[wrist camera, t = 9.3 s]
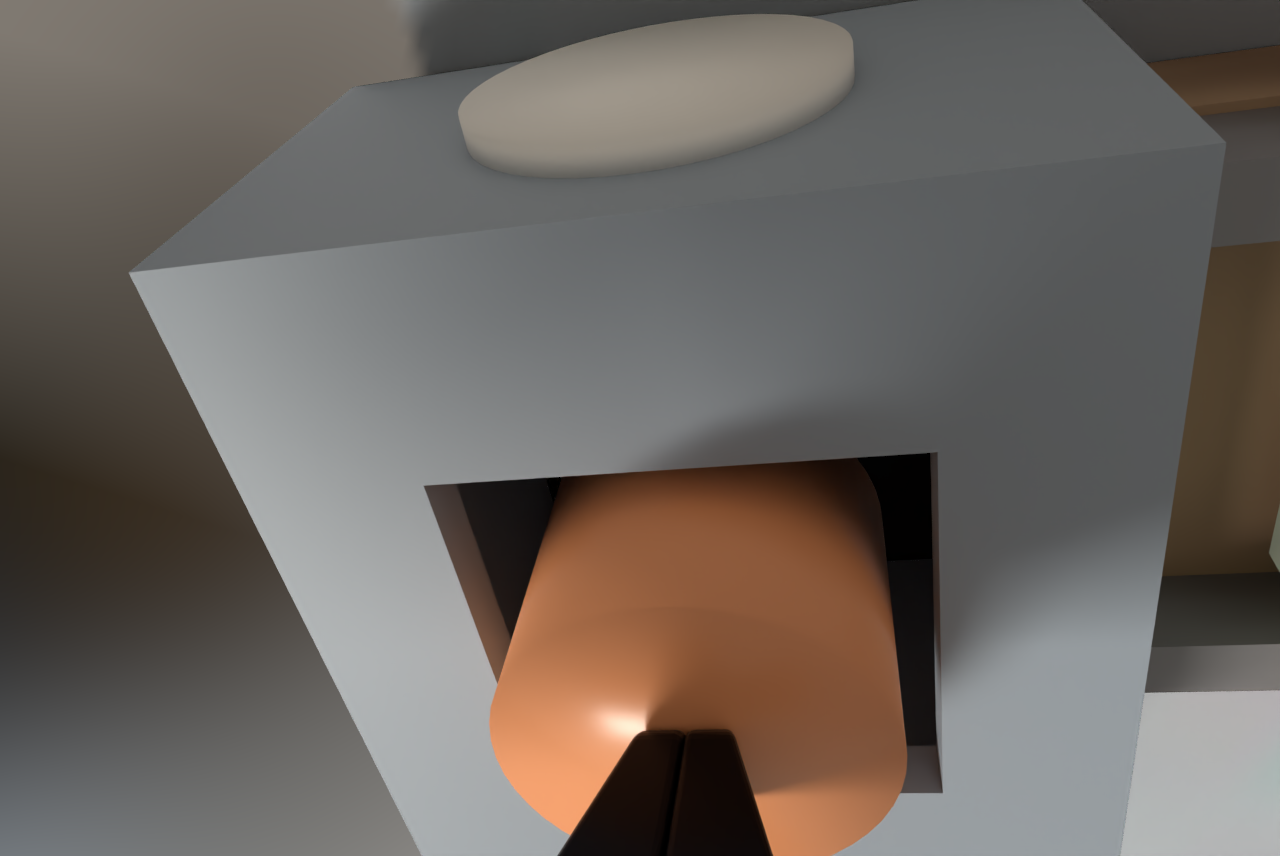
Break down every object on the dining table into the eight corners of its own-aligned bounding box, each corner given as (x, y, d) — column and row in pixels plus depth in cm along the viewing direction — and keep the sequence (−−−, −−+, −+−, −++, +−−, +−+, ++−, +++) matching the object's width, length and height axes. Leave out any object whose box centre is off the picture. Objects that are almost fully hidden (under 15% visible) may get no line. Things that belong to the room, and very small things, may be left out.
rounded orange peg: (590, 647, 12) (541, 872, 10) (521, 407, 11) (438, 614, 8) (889, 639, 12) (912, 879, 9) (874, 379, 10) (900, 597, 7)
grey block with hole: (529, 621, 17) (445, 902, 13) (344, 61, 12) (111, 238, 8) (1028, 603, 15) (1110, 920, 11) (1062, -54, 10) (1233, 94, 6)
